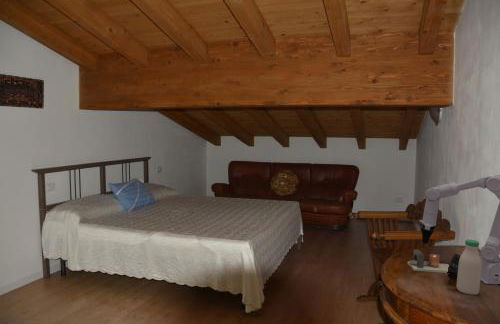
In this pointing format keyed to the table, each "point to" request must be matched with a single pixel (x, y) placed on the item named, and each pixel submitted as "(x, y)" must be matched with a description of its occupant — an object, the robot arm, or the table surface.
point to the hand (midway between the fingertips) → (425, 241)
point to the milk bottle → (469, 269)
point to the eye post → (418, 258)
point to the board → (431, 268)
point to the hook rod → (433, 261)
